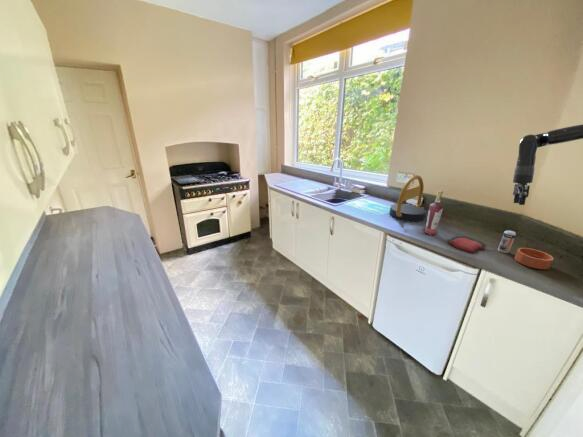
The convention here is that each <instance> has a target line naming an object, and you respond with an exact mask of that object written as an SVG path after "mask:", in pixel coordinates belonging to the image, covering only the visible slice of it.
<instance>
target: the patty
mask: <svg viewBox="0 0 583 437" xmlns="http://www.w3.org/2000/svg"><path fill="white" fill-rule="evenodd" d="M447 243H448V244H449V245H450V244H451V245H450V246H452V245H453V246H452V247H454V248H455V247H456V248H455V249H457V248H458V249H457V250H459V249H461V250H460V251H463V250H464V251H463V252H466V253H468V254H475V253H476V252H477V251H479V250H483V249H484V245H483V244H482V243H480V242H477V241H475V240H473V239H470V238H467V237H457V238H454V239H453V240H449V241H448V242H447Z"/></svg>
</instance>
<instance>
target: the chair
mask: <svg viewBox="0 0 583 437" xmlns="http://www.w3.org/2000/svg"><path fill="white" fill-rule="evenodd" d="M415 180H418V184H419V185H415V186H412V187H410V185H411V184H412V182H414V181H415ZM424 188H425V186H424V180H423V177H422V176H421V175H419V174H415V175H413V176H411V177H409V179H407V181H406V182H405V184H404V185H403V186H402V189H401V191H400V193H399V197H398V200H397V203H395V204H391V205H390V208H389V212H388V215H389V216H390V217H391V216H392V217H391V218H393V219H395V218H396V219H395V220H398V219H399V220H398V221H401V220H403V221H402V222H407V221H409V222H408V223H421V222H424V221H425V220H424V219H426V216H427V210H426V209H425V208H423V207H420V206H421V204H422V200H423V194H424ZM416 197H417V201H416V205H414V204H408V203H407V204H406V203H403V202H405V201H408V200H411V199H414V198H416ZM423 220H424V221H423ZM420 221H421V222H420Z"/></svg>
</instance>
